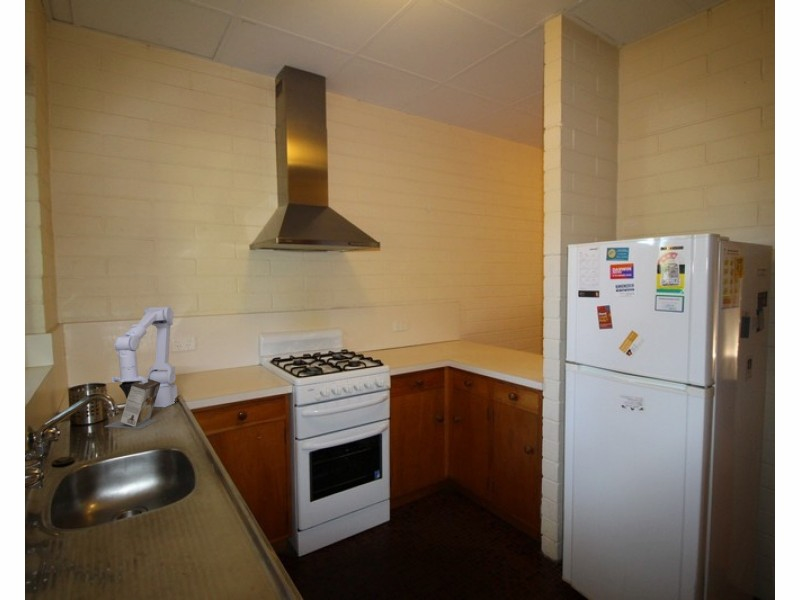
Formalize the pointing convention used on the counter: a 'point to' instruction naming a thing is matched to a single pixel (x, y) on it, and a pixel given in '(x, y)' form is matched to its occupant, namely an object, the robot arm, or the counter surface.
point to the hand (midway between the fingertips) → (131, 400)
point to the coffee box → (140, 402)
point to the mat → (122, 425)
